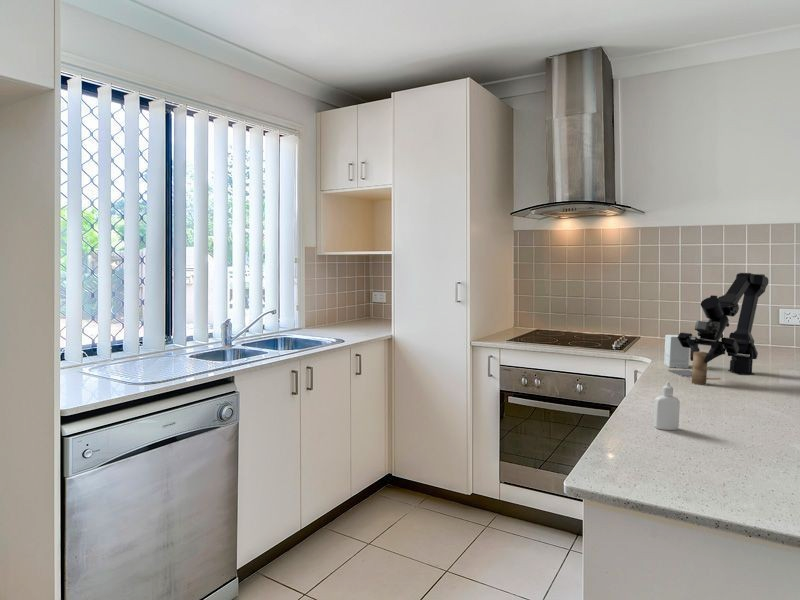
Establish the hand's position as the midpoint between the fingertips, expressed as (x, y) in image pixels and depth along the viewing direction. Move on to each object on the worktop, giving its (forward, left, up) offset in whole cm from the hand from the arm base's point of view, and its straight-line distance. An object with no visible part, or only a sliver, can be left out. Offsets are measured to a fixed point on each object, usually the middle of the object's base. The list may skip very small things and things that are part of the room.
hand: (698, 361), depth 182 cm
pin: (-1, -1, -8) cm, 8 cm away
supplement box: (-9, -32, -8) cm, 34 cm away
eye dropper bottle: (+36, +50, -8) cm, 62 cm away
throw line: (-7, -9, -8) cm, 14 cm away
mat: (-5, -17, -8) cm, 19 cm away
